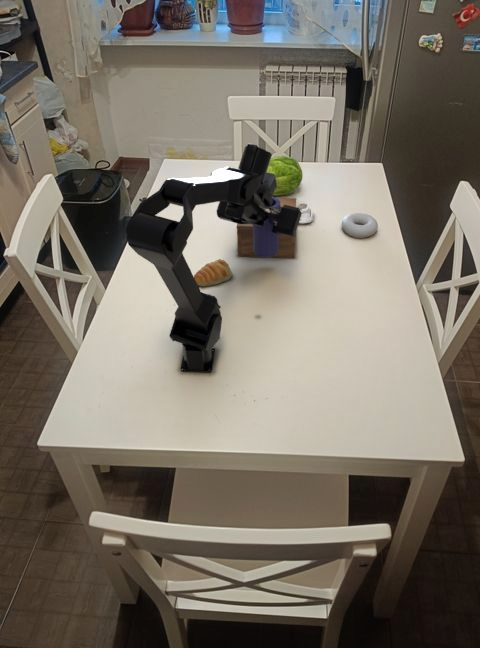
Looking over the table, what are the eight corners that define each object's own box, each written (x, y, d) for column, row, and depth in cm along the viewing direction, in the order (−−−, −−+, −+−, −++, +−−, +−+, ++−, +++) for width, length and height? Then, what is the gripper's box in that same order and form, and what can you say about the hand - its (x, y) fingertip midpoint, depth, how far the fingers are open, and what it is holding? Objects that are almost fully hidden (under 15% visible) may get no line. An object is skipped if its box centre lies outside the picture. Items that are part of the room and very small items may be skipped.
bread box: (294, 258, 133) (296, 228, 127) (237, 256, 133) (237, 227, 127) (294, 229, 143) (296, 201, 137) (242, 227, 144) (241, 199, 138)
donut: (348, 218, 148) (335, 234, 141) (349, 207, 146) (337, 223, 139) (381, 226, 145) (370, 243, 138) (383, 216, 142) (372, 232, 136)
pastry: (203, 292, 122) (202, 280, 120) (188, 279, 126) (186, 267, 124) (234, 278, 127) (234, 265, 124) (219, 265, 130) (218, 253, 128)
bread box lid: (296, 230, 126) (297, 215, 123) (236, 228, 127) (236, 213, 124) (296, 200, 137) (296, 186, 134) (241, 199, 138) (240, 184, 135)
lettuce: (217, 170, 158) (222, 162, 146) (290, 155, 163) (302, 146, 151) (225, 208, 160) (232, 203, 148) (298, 193, 165) (310, 187, 152)
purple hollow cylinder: (282, 254, 123) (284, 206, 114) (258, 259, 121) (258, 211, 112) (273, 241, 127) (274, 193, 118) (249, 245, 125) (249, 198, 117)
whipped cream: (313, 229, 145) (316, 214, 141) (290, 227, 145) (292, 212, 141) (311, 212, 150) (314, 198, 147) (289, 210, 150) (291, 196, 146)
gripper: (301, 175, 103) (315, 200, 118) (220, 157, 109) (243, 183, 124) (284, 227, 103) (301, 245, 118) (204, 207, 109) (229, 227, 123)
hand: (268, 223), depth 121 cm, fingers closed on purple hollow cylinder, 6 cm apart
